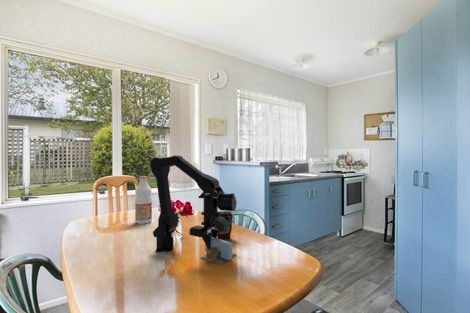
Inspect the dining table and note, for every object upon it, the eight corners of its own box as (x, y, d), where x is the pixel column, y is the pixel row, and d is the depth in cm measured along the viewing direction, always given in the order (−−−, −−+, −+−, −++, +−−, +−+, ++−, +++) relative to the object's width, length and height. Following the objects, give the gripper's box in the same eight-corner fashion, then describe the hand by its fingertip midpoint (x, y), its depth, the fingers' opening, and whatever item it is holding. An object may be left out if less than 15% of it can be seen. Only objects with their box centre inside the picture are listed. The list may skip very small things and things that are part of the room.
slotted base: (219, 265, 89) (219, 253, 89) (198, 259, 95) (198, 247, 95) (237, 254, 99) (237, 243, 99) (218, 249, 105) (218, 239, 105)
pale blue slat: (231, 258, 95) (232, 243, 94) (228, 260, 93) (229, 244, 93) (208, 249, 101) (208, 235, 101) (205, 251, 100) (205, 236, 99)
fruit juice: (132, 222, 149) (132, 176, 149) (147, 219, 156) (147, 175, 156) (139, 225, 142) (139, 177, 142) (154, 222, 149) (154, 176, 149)
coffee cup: (230, 243, 112) (230, 214, 112) (213, 242, 114) (213, 214, 114) (234, 237, 121) (234, 210, 121) (218, 236, 123) (218, 210, 123)
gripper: (210, 216, 87) (210, 260, 87) (239, 207, 102) (240, 245, 102) (188, 212, 93) (188, 253, 93) (218, 204, 109) (219, 240, 109)
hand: (210, 248), depth 99 cm, fingers closed on pale blue slat, 2 cm apart
